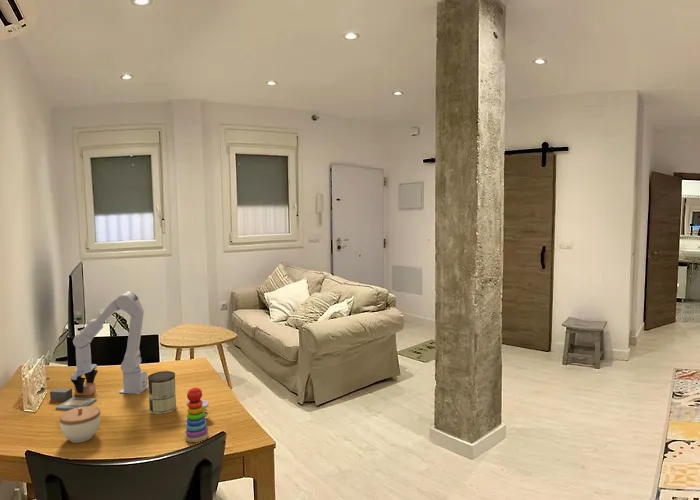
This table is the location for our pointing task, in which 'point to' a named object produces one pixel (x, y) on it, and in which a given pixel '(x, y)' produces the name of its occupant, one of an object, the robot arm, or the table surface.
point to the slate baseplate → (76, 403)
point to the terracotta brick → (87, 389)
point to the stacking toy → (195, 417)
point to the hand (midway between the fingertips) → (85, 389)
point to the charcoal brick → (60, 394)
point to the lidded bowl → (80, 423)
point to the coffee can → (162, 392)
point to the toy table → (205, 405)
